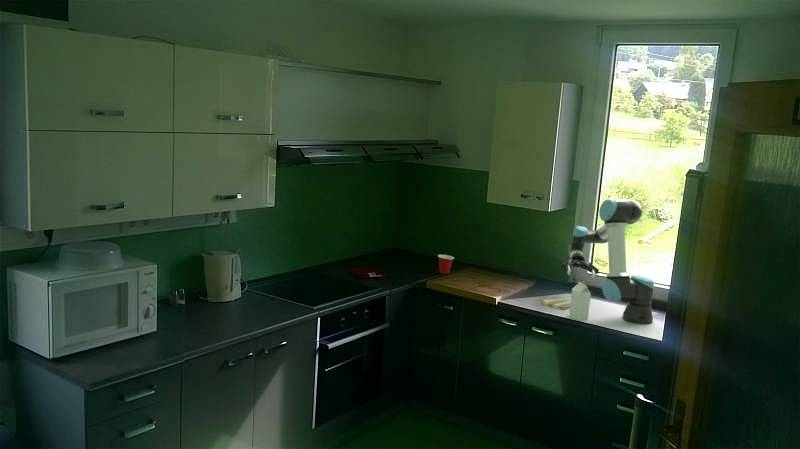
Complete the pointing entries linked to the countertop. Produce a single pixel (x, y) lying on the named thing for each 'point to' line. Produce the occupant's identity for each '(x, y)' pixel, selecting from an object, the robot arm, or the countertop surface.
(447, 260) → the plastic cup
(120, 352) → the countertop surface
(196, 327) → the countertop surface
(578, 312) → the milk carton
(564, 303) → the yellow ridged slab
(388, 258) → the countertop surface
